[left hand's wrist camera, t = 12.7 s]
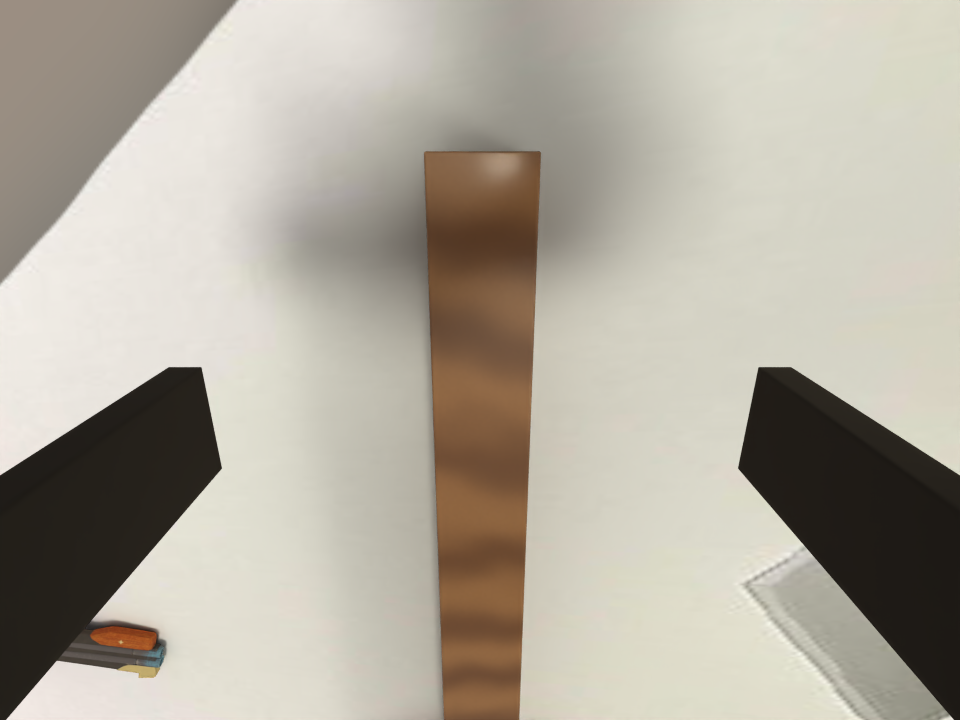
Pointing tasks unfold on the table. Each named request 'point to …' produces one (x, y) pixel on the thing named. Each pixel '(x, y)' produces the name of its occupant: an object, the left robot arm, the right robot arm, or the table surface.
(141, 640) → the toy gun
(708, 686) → the table surface
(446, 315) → the post
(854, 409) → the left robot arm
